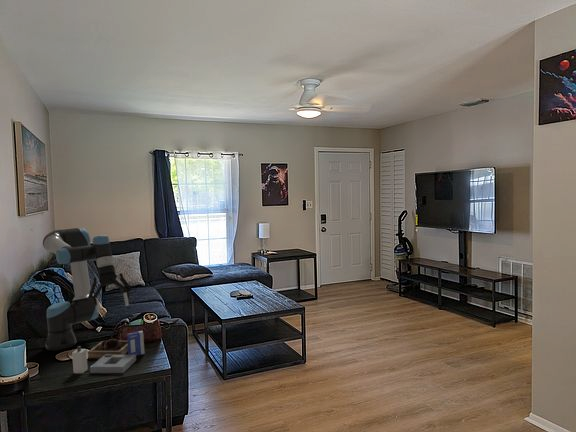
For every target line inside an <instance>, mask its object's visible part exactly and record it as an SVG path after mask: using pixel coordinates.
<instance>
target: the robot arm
mask: <svg viewBox="0 0 576 432" xmlns="http://www.w3.org/2000/svg"><path fill="white" fill-rule="evenodd" d="M42 246H43V248H44V249H45V251H47V252H49V253H53V254H55V259H56V262H57V264H59V265H67V264H70V270H71V277H72V285H73V292H74V297H73V299H72V303H70V301H68V300H67V301H60V302H57V303H54V304H52V305H50V306H48V308H47V309H46V321H47V322H46V323H47V338H46V342H45V350H47V351H61V350H65V349H69V348H71V347H73V346H75V345H77V338H76V335H75V333H74V331H73V328H72V326H73V325H75V324H76V325H77V324H80V323H85V322H90V321H93V320H96V319H97V318H98V317H99V315H100V313H101V307H100V306H101V304H100V300H99V298H98V295H99V294H100V292H101V291H102V289H103V287H104V286H110V285H114V286H116V287H117V288H119V289H120V290H121V291H122V292H124V293H123V295H122V296H123V300H124V306H125V307H128V306H129V305H130V303H129V299H130V294H129V292H130V291H132V290H133V289H132V287H131V285H130V284H129V282H128V281H127V280H126V279H125V277H124V275H123V273H119V274H116V270H115V265H114V259H113V253H112V248H111V241H110V238H109V236H108V235H107V234H103V235H97V236H93V238H92V244H91V238H90V234H89V232H88V231H87V229H86V228H83V227H75V228H65V229H55V230H53V231H50V232H48V233H47V234H46V235H44V238H43V239H42ZM88 261H96V267H97V273H98V277H93V278H92V279H91V281H92V284H91V282H90V274H89V268H88ZM117 279H119V280H120V282H121V283H120V282H119V281H118V280H117ZM98 282H99V283H100V284H99V286H98V287H97V289H96V285H97V283H98ZM95 289H96V290H95Z"/></svg>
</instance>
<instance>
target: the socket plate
mask: <svg viewBox="0 0 576 432" xmlns="http://www.w3.org/2000/svg"><path fill="white" fill-rule="evenodd" d="M136 361H137V356H136V355H128V354H125V355H112V354H106V355H104V356H103V357H102V358H98V359H97V361H95V362H94V363H93V364H91V366H90V367H89V368H90V369H89V371H90V374H124V373H125V372H126V371H127V370H128V369H129V368H130V367H131V366H133V364H134V363H135V362H136Z"/></svg>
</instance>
